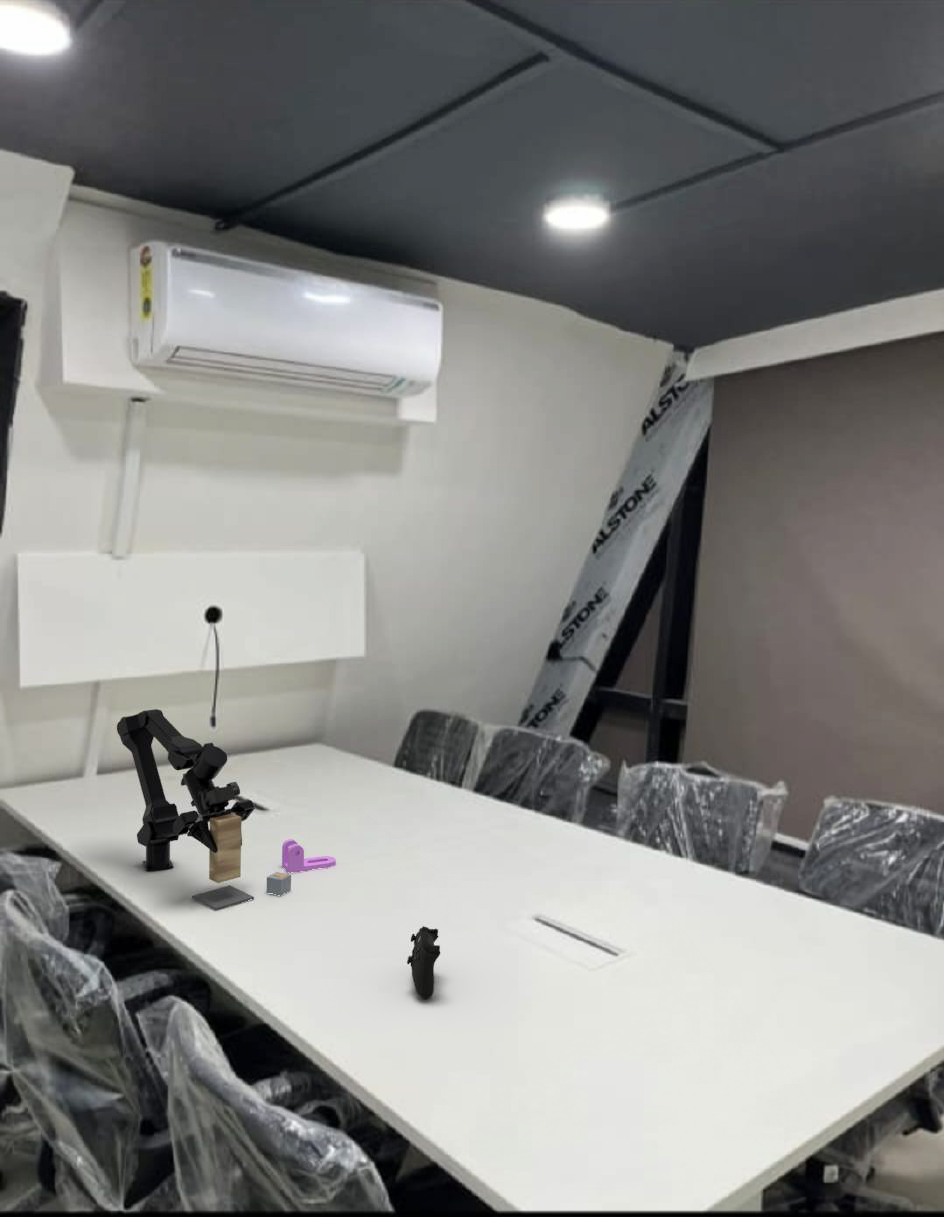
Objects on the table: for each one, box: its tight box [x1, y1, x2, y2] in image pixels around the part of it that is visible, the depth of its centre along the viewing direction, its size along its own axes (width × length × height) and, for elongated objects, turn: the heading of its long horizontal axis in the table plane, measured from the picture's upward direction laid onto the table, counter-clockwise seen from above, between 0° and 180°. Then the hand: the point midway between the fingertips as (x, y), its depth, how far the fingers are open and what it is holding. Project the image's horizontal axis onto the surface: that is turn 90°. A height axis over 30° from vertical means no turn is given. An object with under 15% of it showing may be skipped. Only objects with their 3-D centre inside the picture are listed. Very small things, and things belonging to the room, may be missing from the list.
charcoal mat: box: [191, 884, 255, 911], centre depth 227 cm, size 10×10×1 cm
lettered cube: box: [266, 871, 292, 897], centre depth 232 cm, size 4×4×4 cm
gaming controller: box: [406, 925, 441, 1000], centre depth 187 cm, size 14×6×10 cm, turn 5°
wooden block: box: [208, 814, 242, 884], centre depth 225 cm, size 4×6×14 cm, turn 136°
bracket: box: [281, 838, 337, 874], centre depth 250 cm, size 13×6×7 cm, turn 119°
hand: (228, 848), depth 224 cm, fingers closed on wooden block, 6 cm apart
